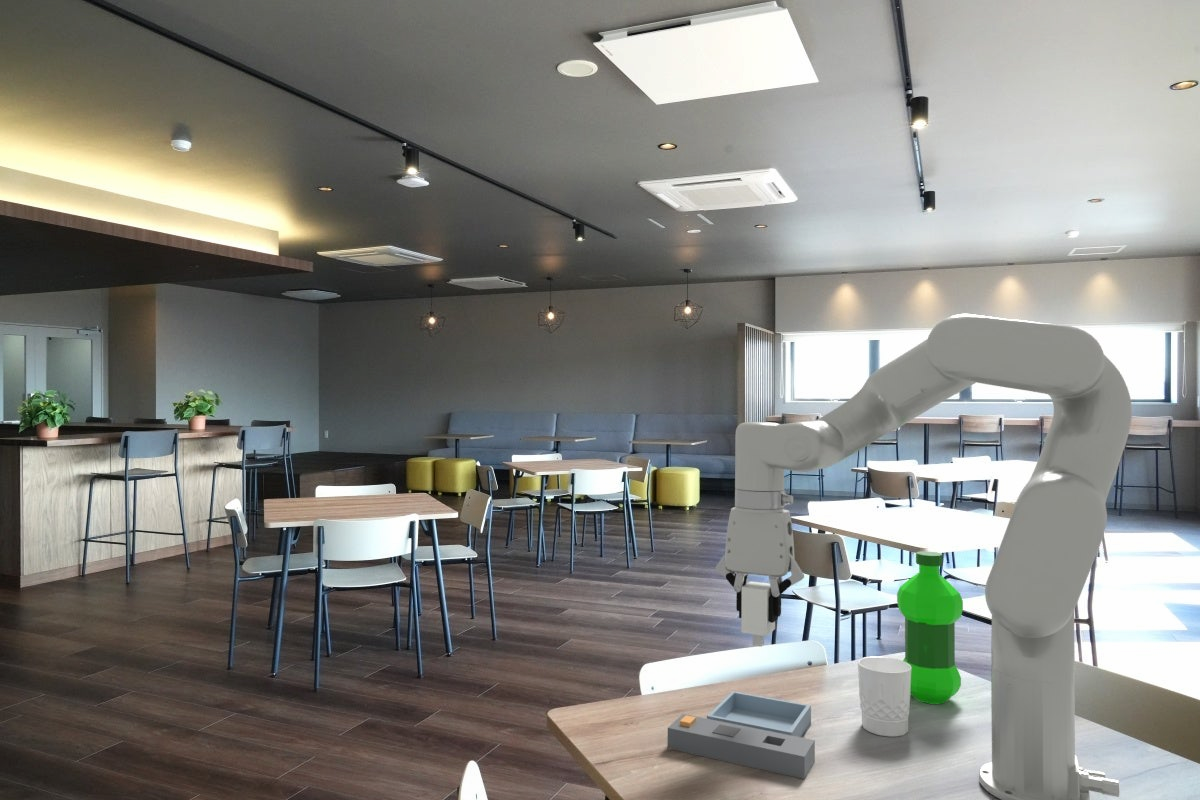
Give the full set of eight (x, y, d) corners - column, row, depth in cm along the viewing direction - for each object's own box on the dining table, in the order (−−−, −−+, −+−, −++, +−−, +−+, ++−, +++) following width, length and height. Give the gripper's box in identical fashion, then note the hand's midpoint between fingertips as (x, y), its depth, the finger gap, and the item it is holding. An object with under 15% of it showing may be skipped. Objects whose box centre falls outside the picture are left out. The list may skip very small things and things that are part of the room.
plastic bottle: (887, 698, 134) (886, 553, 134) (915, 683, 141) (915, 546, 141) (945, 714, 126) (944, 561, 127) (972, 698, 133) (971, 553, 134)
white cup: (854, 732, 119) (853, 667, 119) (862, 715, 126) (862, 653, 126) (908, 742, 116) (908, 675, 116) (914, 724, 122) (914, 660, 123)
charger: (775, 642, 121) (775, 584, 122) (766, 650, 117) (767, 590, 118) (750, 639, 123) (750, 581, 123) (741, 646, 119) (741, 587, 119)
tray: (811, 724, 122) (811, 705, 122) (791, 753, 112) (791, 732, 112) (732, 709, 128) (732, 691, 128) (706, 735, 118) (706, 715, 118)
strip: (814, 761, 109) (814, 735, 109) (804, 779, 104) (804, 752, 104) (683, 733, 119) (683, 709, 119) (667, 748, 113) (667, 723, 113)
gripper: (818, 502, 120) (818, 620, 120) (716, 495, 128) (715, 606, 128) (807, 507, 113) (806, 632, 113) (700, 500, 121) (699, 616, 121)
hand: (758, 617), depth 120 cm, fingers closed on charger, 4 cm apart
